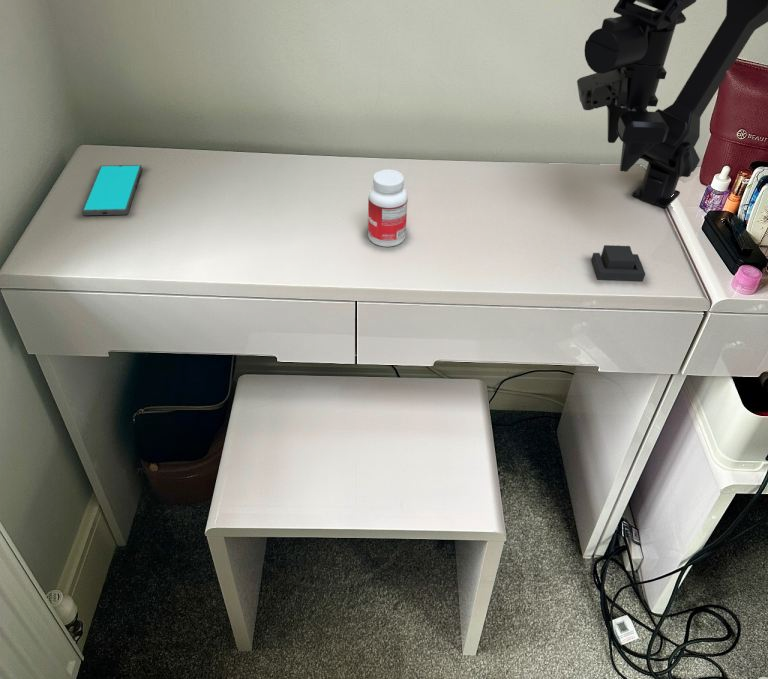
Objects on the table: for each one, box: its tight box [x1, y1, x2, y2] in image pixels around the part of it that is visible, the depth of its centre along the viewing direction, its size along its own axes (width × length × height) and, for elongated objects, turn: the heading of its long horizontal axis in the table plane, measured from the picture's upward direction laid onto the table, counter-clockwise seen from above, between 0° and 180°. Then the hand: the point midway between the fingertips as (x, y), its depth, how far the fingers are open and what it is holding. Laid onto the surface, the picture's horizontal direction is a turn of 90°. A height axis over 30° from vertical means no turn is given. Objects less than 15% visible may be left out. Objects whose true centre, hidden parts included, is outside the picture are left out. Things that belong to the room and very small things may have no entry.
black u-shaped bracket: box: [590, 252, 646, 282], centre depth 109 cm, size 5×7×2 cm
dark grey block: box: [600, 244, 636, 270], centre depth 109 cm, size 4×4×3 cm
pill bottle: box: [367, 168, 409, 248], centre depth 111 cm, size 6×6×11 cm
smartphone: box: [81, 164, 143, 216], centre depth 122 cm, size 7×1×15 cm
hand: (617, 156), depth 112 cm, fingers open, 9 cm apart
